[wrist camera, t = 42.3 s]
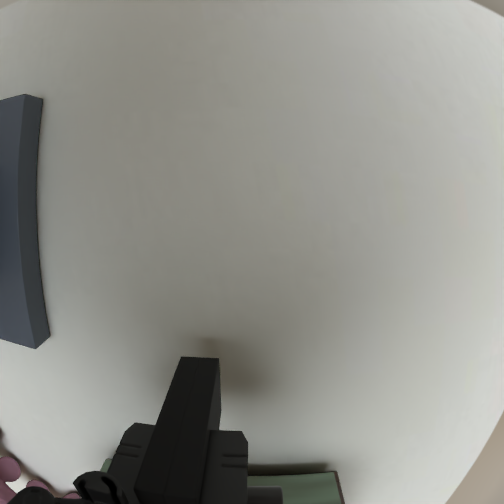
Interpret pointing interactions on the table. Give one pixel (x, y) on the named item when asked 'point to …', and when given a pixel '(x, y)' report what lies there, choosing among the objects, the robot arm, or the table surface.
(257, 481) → the drawer
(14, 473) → the video game controller
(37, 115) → the pedestal
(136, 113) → the table surface
